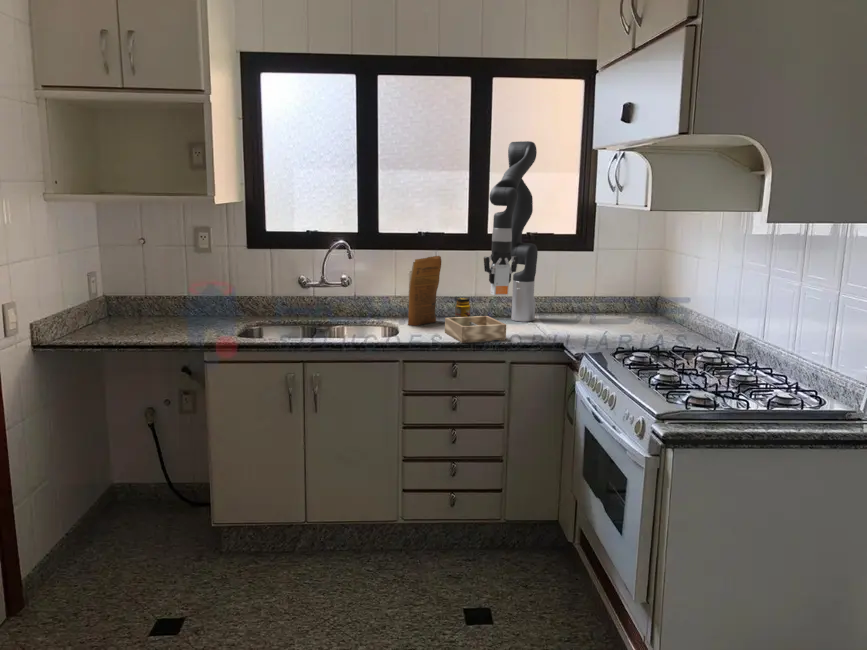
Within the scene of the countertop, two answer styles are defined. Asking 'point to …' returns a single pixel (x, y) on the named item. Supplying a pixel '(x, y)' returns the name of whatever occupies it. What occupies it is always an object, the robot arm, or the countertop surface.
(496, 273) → the skincare box
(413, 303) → the pancake mix bag
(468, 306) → the condiment
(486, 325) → the box
